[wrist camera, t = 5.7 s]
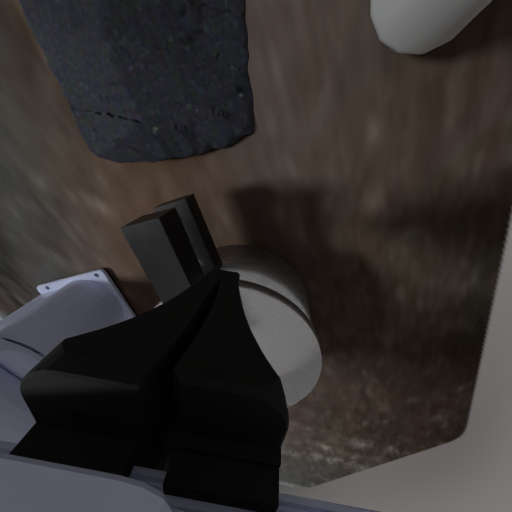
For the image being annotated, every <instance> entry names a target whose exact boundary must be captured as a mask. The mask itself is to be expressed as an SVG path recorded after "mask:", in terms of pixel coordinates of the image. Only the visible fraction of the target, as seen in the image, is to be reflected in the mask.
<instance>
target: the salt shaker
mask: <svg viewBox="0 0 512 512" xmlns="http://www.w3.org/2000/svg"><path fill="white" fill-rule="evenodd" d="M491 1H492V0H371V11H370V16H371V19H372V22H373V24H374V27H375V30H376V32H377V35H378V39H379V40H380V41H381V42H382V43H384V44H385V45H386V46H388V47H389V48H391V49H392V50H393V51H395V52H396V53H403V54H425V53H427V52H429V51H431V50H433V49H435V48H437V47H439V46H441V45H443V44H445V43H447V42H449V41H451V40H452V39H453V38H454V37H455V36H456V35H457V34H458V33H459V32H460V31H461V30H462V29H463V28H464V27H465V26H466V25H467V24H468V23H469V22H471V21H472V20H473V19H474V18H475V17H476V16H477V15H478V14H479V13H480V12H481V11H482V10H483V9H484V8H485V7H486V6H487V5H488V4H489V3H490V2H491Z"/></svg>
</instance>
